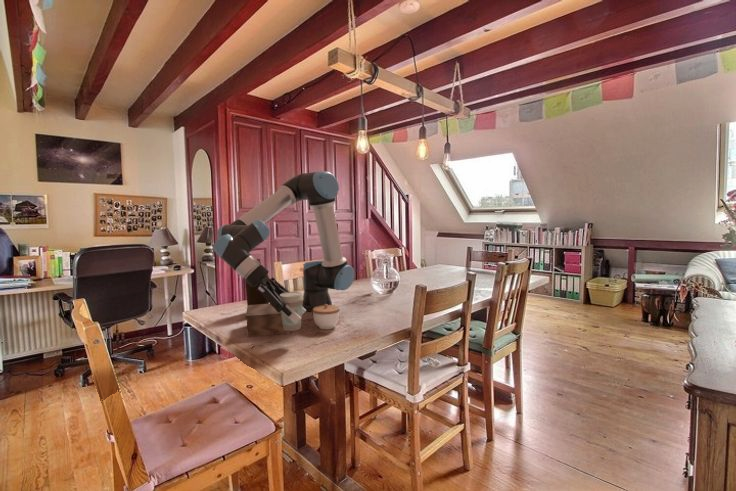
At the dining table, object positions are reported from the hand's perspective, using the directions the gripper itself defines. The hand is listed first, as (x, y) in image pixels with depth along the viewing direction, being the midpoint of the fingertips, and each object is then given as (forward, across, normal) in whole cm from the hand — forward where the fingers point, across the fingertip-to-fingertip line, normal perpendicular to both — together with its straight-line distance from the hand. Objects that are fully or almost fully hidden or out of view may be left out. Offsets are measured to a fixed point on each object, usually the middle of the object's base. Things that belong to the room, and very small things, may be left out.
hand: (301, 316), depth 123 cm
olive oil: (-13, -42, -27) cm, 52 cm away
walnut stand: (-5, -18, -19) cm, 27 cm away
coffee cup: (+1, 0, -5) cm, 5 cm away
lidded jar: (+12, -20, -3) cm, 23 cm away
